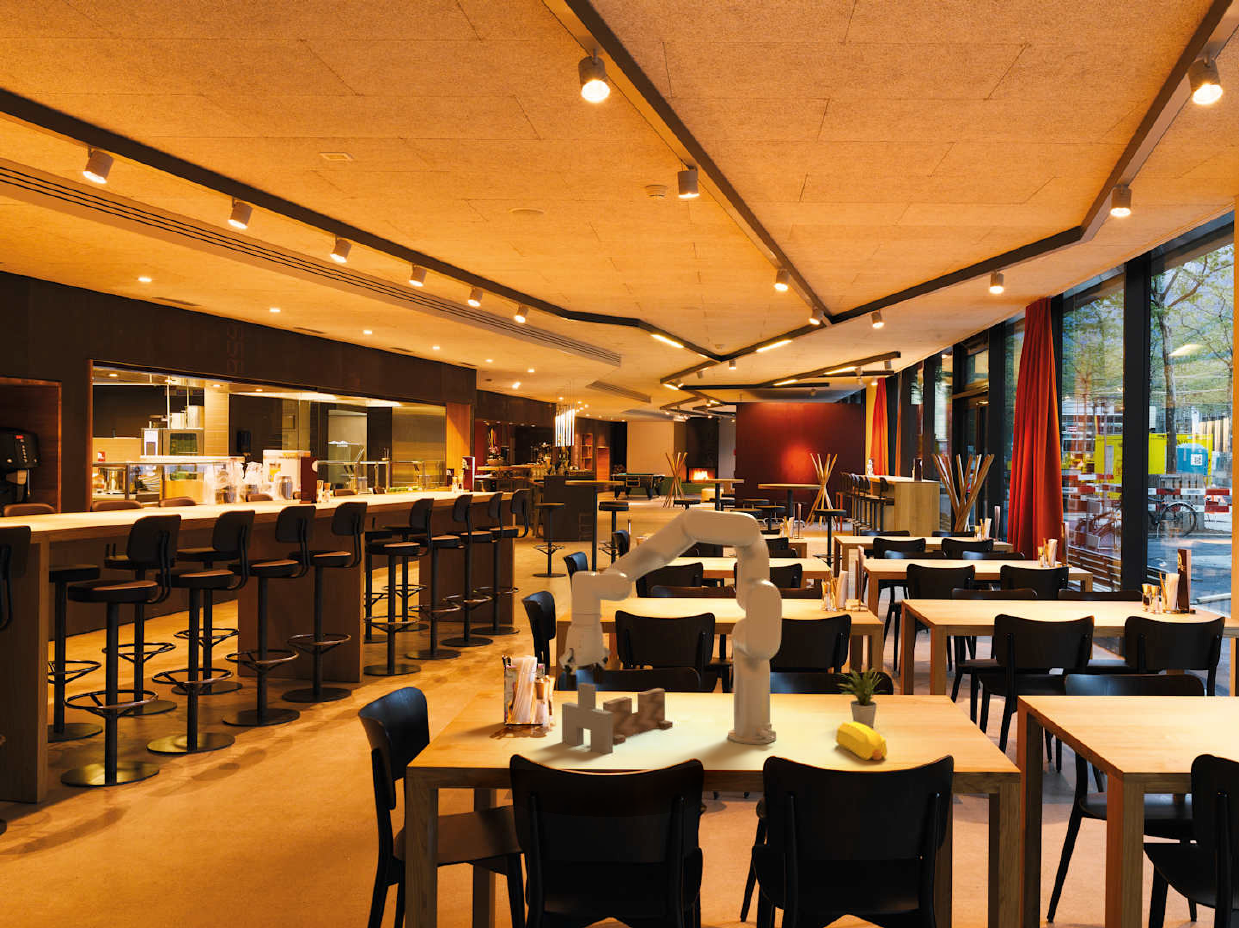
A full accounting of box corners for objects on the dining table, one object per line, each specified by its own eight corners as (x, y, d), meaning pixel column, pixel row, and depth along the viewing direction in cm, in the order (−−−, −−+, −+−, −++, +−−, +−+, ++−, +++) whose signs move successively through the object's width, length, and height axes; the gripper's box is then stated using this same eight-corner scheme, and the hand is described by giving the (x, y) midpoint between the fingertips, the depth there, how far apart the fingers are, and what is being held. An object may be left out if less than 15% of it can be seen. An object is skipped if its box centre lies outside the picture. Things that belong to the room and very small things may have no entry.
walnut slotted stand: (650, 722, 268) (650, 686, 268) (672, 727, 262) (672, 690, 262) (595, 738, 252) (595, 700, 252) (617, 744, 246) (617, 705, 246)
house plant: (846, 715, 274) (846, 658, 274) (894, 721, 267) (894, 663, 267) (830, 726, 262) (830, 667, 262) (880, 733, 255) (880, 672, 255)
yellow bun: (857, 741, 248) (830, 744, 246) (857, 716, 248) (830, 718, 246) (893, 762, 231) (865, 764, 229) (893, 734, 231) (864, 737, 229)
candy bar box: (503, 726, 265) (503, 667, 265) (505, 721, 270) (505, 663, 270) (544, 725, 265) (543, 666, 265) (544, 720, 270) (544, 662, 270)
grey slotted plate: (612, 752, 239) (612, 688, 240) (605, 754, 238) (605, 690, 238) (569, 740, 250) (568, 679, 251) (562, 742, 249) (561, 680, 249)
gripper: (599, 614, 253) (598, 679, 253) (551, 621, 241) (550, 689, 240) (619, 618, 248) (618, 683, 248) (571, 625, 235) (570, 694, 235)
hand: (585, 686), depth 244 cm, fingers open, 9 cm apart
